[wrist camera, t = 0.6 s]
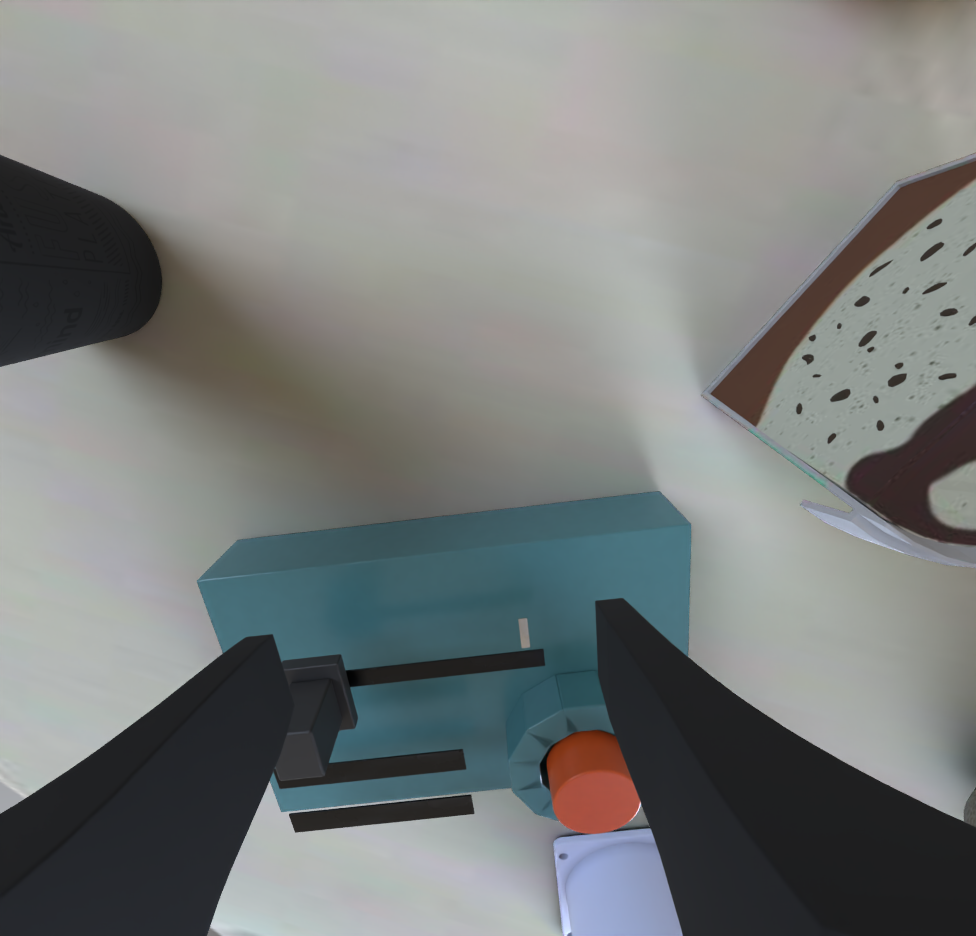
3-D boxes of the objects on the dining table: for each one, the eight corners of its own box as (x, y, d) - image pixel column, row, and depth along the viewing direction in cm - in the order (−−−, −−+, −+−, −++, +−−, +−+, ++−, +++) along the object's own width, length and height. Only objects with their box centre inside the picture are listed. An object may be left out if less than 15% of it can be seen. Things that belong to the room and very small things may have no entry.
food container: (775, 509, 21) (1027, 688, 11) (673, 424, 19) (862, 545, 10) (1033, 263, 18) (1684, 220, 8) (933, 140, 16) (1574, -82, 7)
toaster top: (558, 803, 19) (558, 804, 19) (295, 831, 19) (295, 832, 19) (540, 615, 16) (540, 616, 16) (230, 650, 16) (229, 651, 16)
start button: (628, 785, 19) (642, 830, 18) (549, 793, 19) (556, 839, 18) (627, 724, 18) (641, 766, 17) (543, 733, 18) (549, 776, 17)
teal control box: (659, 712, 24) (703, 812, 19) (305, 750, 24) (264, 858, 20) (659, 490, 20) (715, 548, 15) (236, 539, 20) (165, 610, 16)
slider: (358, 717, 17) (338, 788, 14) (302, 723, 17) (272, 795, 14) (341, 653, 16) (317, 717, 14) (282, 659, 16) (247, 724, 14)
